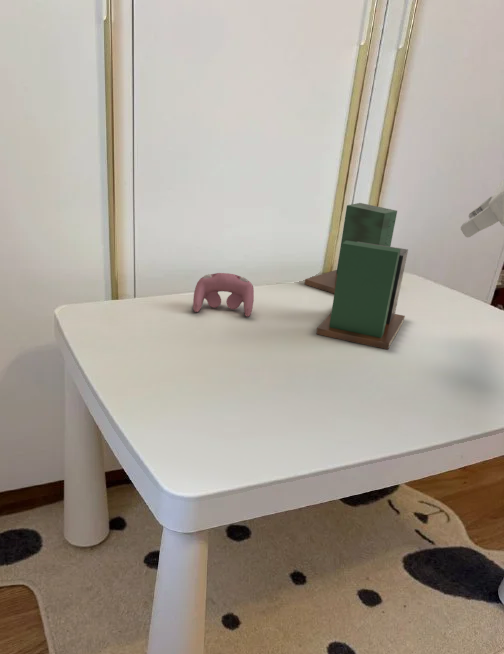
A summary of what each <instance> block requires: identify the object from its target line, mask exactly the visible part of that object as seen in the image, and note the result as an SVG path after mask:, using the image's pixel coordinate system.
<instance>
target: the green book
mask: <svg viewBox="0 0 504 654" xmlns="http://www.w3.org/2000/svg"><path fill="white" fill-rule="evenodd" d="M391 247H392V246H390V247H385V246H379V245H372V244H366V243H360V242H353V241H347V240H346V241H345V242H343V243H342V248H341V255H340V261H339V268H338V274H337V280H336V287H335V293H333V301H332V308H331V311H330V313H331V319H330V325H329V327H331V328H336V329H340V330H345V331H350V332H355V333H359V334H364V335H369V336H374V337H379V338H381V337H382V335H383V334H384V330H385V325H386V320H387V315H388V310H389V305H390V300H391V295H392V290H393V285H394V280H395V276H396V271H397V266H398V261H399V256H400V251H401V249H398V248H399V247H395V248H391Z"/></svg>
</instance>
